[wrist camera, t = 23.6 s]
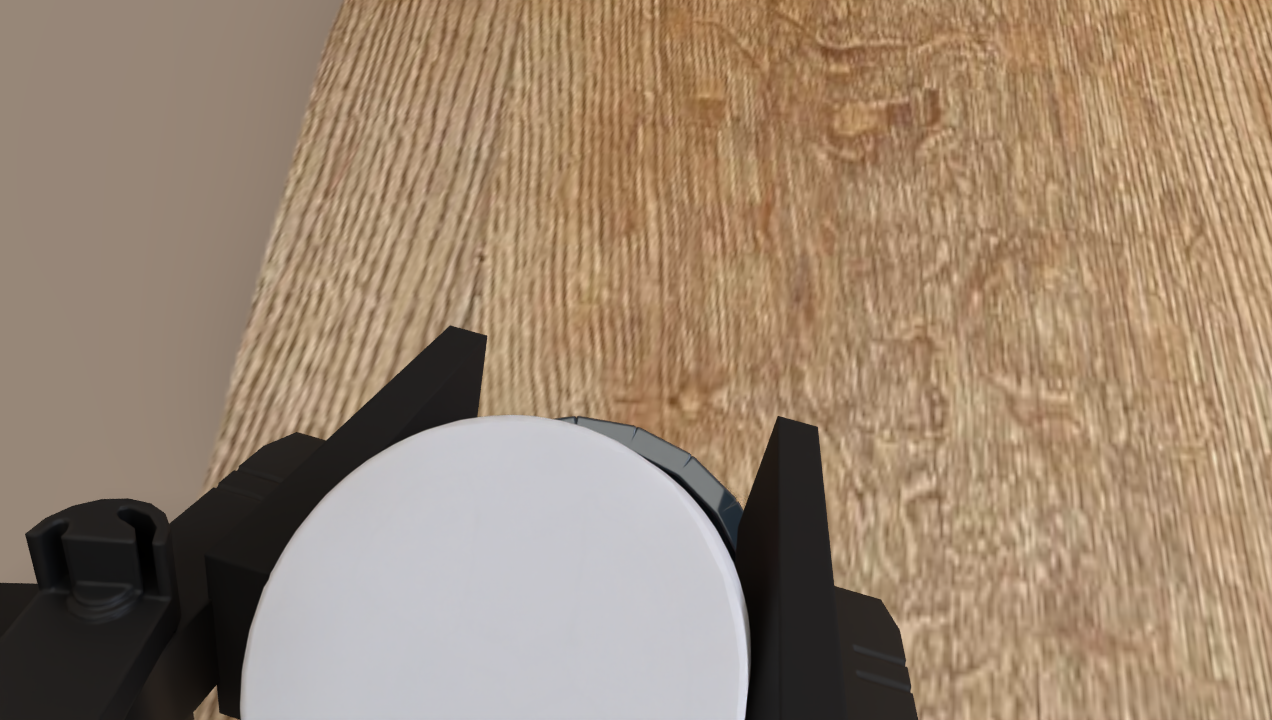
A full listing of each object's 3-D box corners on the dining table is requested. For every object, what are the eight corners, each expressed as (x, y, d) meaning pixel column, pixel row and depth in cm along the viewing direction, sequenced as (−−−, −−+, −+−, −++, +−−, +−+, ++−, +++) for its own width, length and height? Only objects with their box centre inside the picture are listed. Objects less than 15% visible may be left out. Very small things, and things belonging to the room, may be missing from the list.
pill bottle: (725, 533, 16) (868, 456, 7) (660, 800, 15) (736, 1170, 5) (493, 464, 17) (336, 303, 7) (403, 717, 15) (47, 925, 6)
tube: (428, 490, 22) (346, 446, 16) (703, 451, 23) (736, 392, 16) (445, 807, 19) (354, 919, 13) (756, 754, 20) (824, 834, 13)
